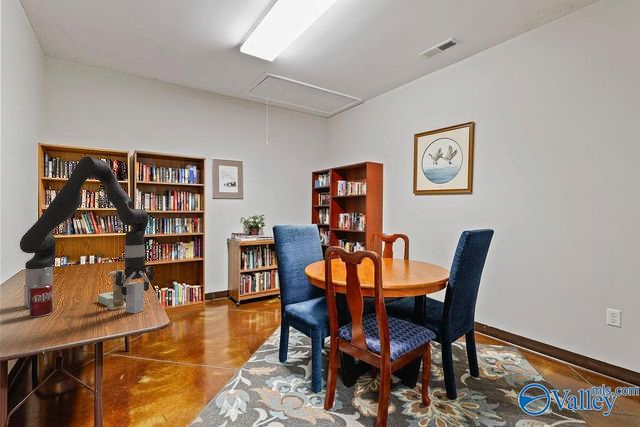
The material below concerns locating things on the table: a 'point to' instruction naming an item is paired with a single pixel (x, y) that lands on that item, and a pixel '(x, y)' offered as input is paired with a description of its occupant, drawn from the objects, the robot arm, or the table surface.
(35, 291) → the soda can
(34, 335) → the table surface
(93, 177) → the robot arm
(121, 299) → the bobbin
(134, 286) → the skincare box
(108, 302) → the notched board
